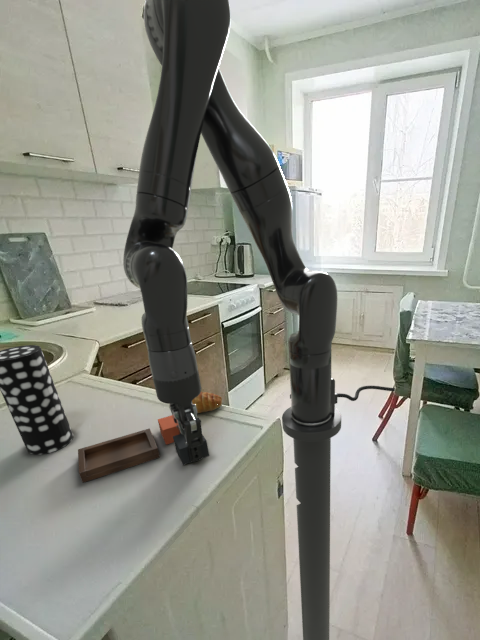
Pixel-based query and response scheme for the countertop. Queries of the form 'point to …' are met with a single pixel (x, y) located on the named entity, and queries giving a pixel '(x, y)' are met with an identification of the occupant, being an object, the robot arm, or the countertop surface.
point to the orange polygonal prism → (168, 429)
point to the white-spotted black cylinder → (33, 399)
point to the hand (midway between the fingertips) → (192, 451)
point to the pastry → (207, 402)
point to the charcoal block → (183, 451)
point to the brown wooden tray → (116, 455)
